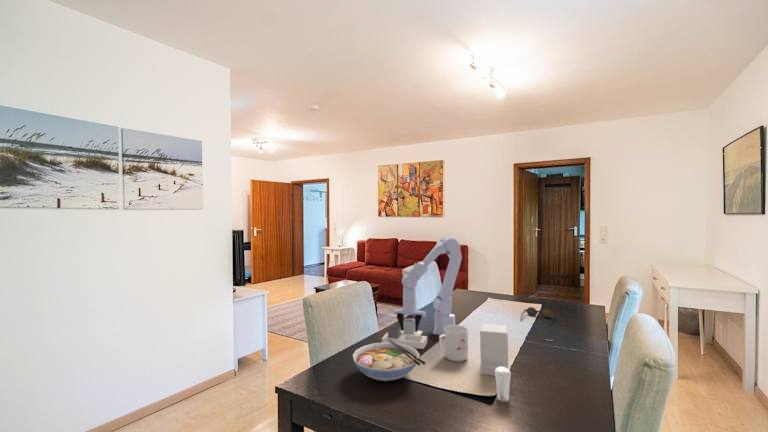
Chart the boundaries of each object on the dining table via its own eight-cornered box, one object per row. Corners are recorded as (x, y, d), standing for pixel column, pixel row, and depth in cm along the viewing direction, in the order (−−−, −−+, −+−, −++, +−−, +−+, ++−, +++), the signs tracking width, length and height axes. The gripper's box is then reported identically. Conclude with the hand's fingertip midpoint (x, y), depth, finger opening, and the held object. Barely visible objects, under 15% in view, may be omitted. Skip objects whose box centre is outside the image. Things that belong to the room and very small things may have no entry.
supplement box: (508, 367, 123) (507, 325, 123) (508, 378, 115) (508, 333, 115) (481, 363, 126) (481, 322, 126) (480, 374, 118) (479, 330, 118)
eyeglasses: (554, 319, 180) (554, 309, 180) (551, 327, 168) (551, 316, 168) (524, 315, 188) (524, 305, 188) (519, 322, 175) (519, 312, 175)
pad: (422, 332, 161) (422, 330, 161) (417, 339, 151) (417, 338, 151) (401, 329, 164) (401, 328, 164) (396, 337, 154) (396, 336, 154)
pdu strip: (427, 342, 148) (427, 326, 148) (423, 349, 140) (423, 332, 140) (387, 337, 153) (387, 322, 153) (381, 344, 146) (381, 328, 146)
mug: (457, 351, 138) (457, 323, 137) (473, 359, 130) (472, 330, 130) (433, 357, 132) (432, 328, 132) (447, 366, 124) (447, 335, 124)
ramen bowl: (343, 367, 124) (342, 344, 124) (400, 356, 133) (400, 335, 133) (367, 401, 101) (367, 374, 101) (434, 386, 110) (434, 360, 110)
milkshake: (489, 395, 104) (489, 362, 104) (506, 394, 104) (506, 361, 104) (495, 403, 99) (495, 369, 99) (513, 402, 100) (513, 368, 100)
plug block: (415, 332, 159) (415, 318, 159) (413, 335, 155) (413, 321, 155) (405, 331, 160) (405, 317, 160) (403, 334, 156) (403, 320, 156)
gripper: (391, 302, 156) (391, 332, 156) (423, 304, 151) (423, 335, 152) (395, 298, 163) (396, 327, 163) (426, 300, 158) (426, 330, 158)
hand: (409, 330), depth 158 cm, fingers open, 6 cm apart
